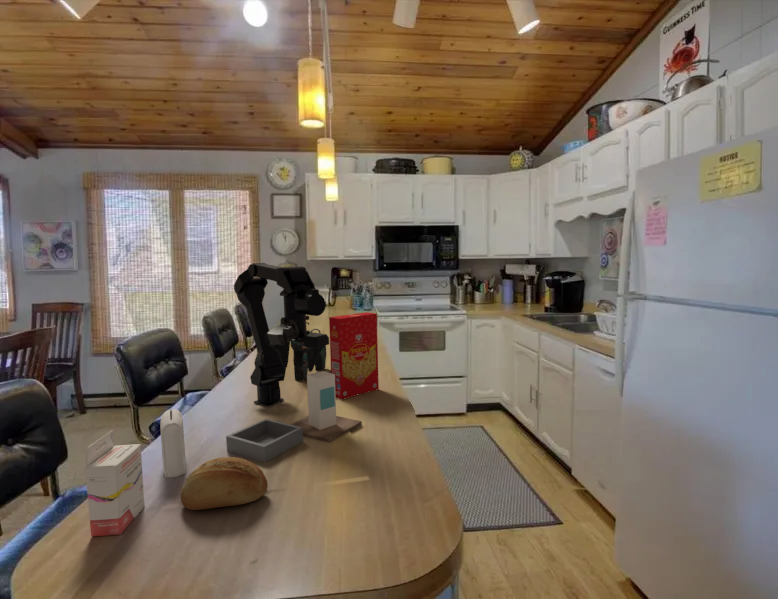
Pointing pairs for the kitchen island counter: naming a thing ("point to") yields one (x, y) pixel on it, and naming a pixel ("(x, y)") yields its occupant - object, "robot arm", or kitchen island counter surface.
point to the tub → (264, 440)
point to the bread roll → (223, 484)
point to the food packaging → (354, 353)
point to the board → (328, 428)
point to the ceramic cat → (305, 359)
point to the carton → (321, 399)
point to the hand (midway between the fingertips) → (297, 369)
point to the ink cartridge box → (113, 485)
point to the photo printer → (173, 443)
